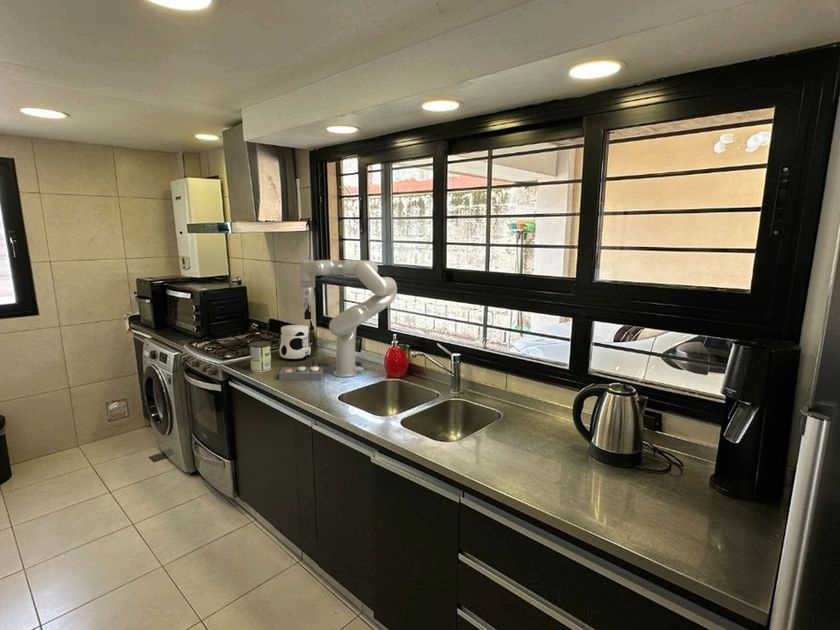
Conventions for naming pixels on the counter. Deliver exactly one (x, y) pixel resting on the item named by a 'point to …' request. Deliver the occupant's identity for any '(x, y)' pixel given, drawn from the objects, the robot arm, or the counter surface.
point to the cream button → (315, 369)
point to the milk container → (294, 342)
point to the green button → (301, 369)
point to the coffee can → (260, 356)
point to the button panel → (300, 374)
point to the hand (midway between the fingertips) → (307, 319)
